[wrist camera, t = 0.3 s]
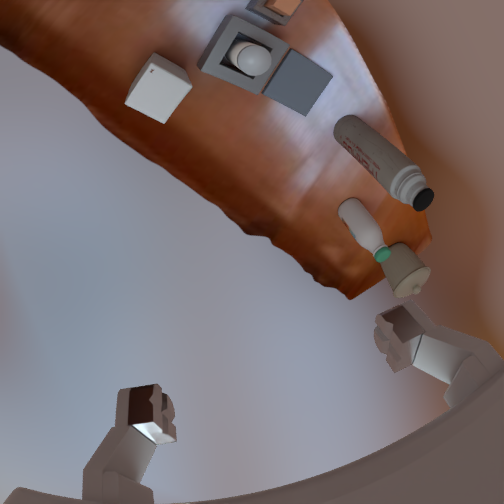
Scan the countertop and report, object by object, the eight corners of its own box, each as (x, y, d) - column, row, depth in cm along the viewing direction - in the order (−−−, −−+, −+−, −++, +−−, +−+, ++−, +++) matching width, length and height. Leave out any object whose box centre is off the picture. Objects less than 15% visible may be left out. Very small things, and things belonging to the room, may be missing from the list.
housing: (226, 15, 37) (233, 15, 33) (277, 41, 43) (289, 45, 39) (196, 65, 43) (200, 70, 39) (248, 86, 49) (257, 95, 45)
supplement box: (130, 84, 42) (122, 103, 34) (154, 51, 39) (151, 60, 30) (163, 102, 46) (163, 125, 38) (187, 70, 43) (194, 86, 35)
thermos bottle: (333, 146, 64) (404, 224, 46) (332, 117, 58) (413, 189, 40) (360, 140, 65) (434, 212, 47) (361, 112, 59) (444, 179, 41)
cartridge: (232, 35, 40) (249, 40, 33) (256, 46, 43) (277, 54, 36) (219, 57, 43) (232, 67, 36) (242, 67, 46) (261, 80, 38)
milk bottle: (335, 203, 79) (371, 255, 66) (358, 193, 78) (397, 241, 66) (338, 221, 85) (371, 271, 72) (360, 210, 84) (395, 258, 71)
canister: (381, 271, 118) (405, 310, 105) (367, 259, 106) (394, 302, 93) (412, 246, 111) (439, 283, 97) (402, 229, 99) (433, 271, 85)
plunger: (270, -8, 33) (283, -10, 29) (286, 1, 35) (301, 1, 31) (260, 5, 35) (272, 5, 31) (277, 14, 37) (290, 15, 33)
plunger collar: (263, -17, 33) (272, -20, 30) (292, -1, 36) (303, -1, 33) (245, 8, 36) (253, 8, 33) (274, 24, 40) (285, 25, 37)
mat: (290, 48, 44) (292, 49, 44) (330, 75, 50) (333, 76, 50) (261, 92, 50) (263, 94, 50) (303, 114, 56) (305, 116, 56)
